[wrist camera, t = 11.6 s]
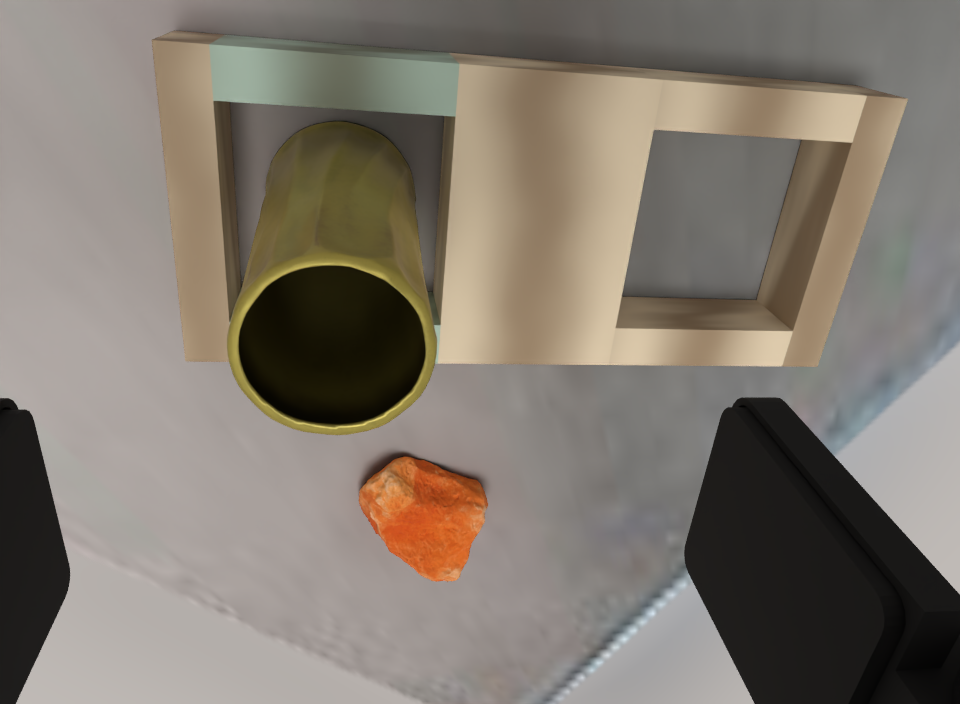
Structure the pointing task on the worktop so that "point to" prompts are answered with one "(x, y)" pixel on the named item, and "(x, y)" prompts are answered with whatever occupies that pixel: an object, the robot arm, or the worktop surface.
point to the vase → (334, 287)
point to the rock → (425, 515)
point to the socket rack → (536, 194)
